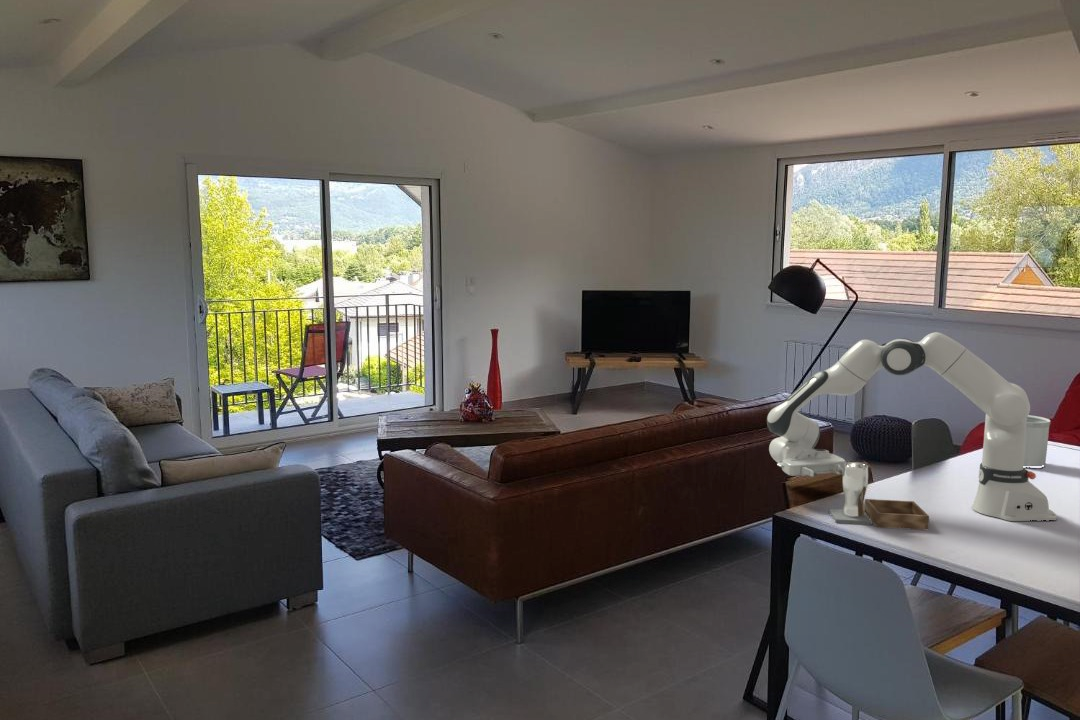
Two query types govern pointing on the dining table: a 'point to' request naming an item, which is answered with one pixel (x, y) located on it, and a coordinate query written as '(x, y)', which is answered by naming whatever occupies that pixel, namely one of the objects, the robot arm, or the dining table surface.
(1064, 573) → the dining table surface
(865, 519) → the slate mat
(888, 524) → the wooden tray
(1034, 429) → the utensil holder
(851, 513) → the beer glass
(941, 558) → the dining table surface
